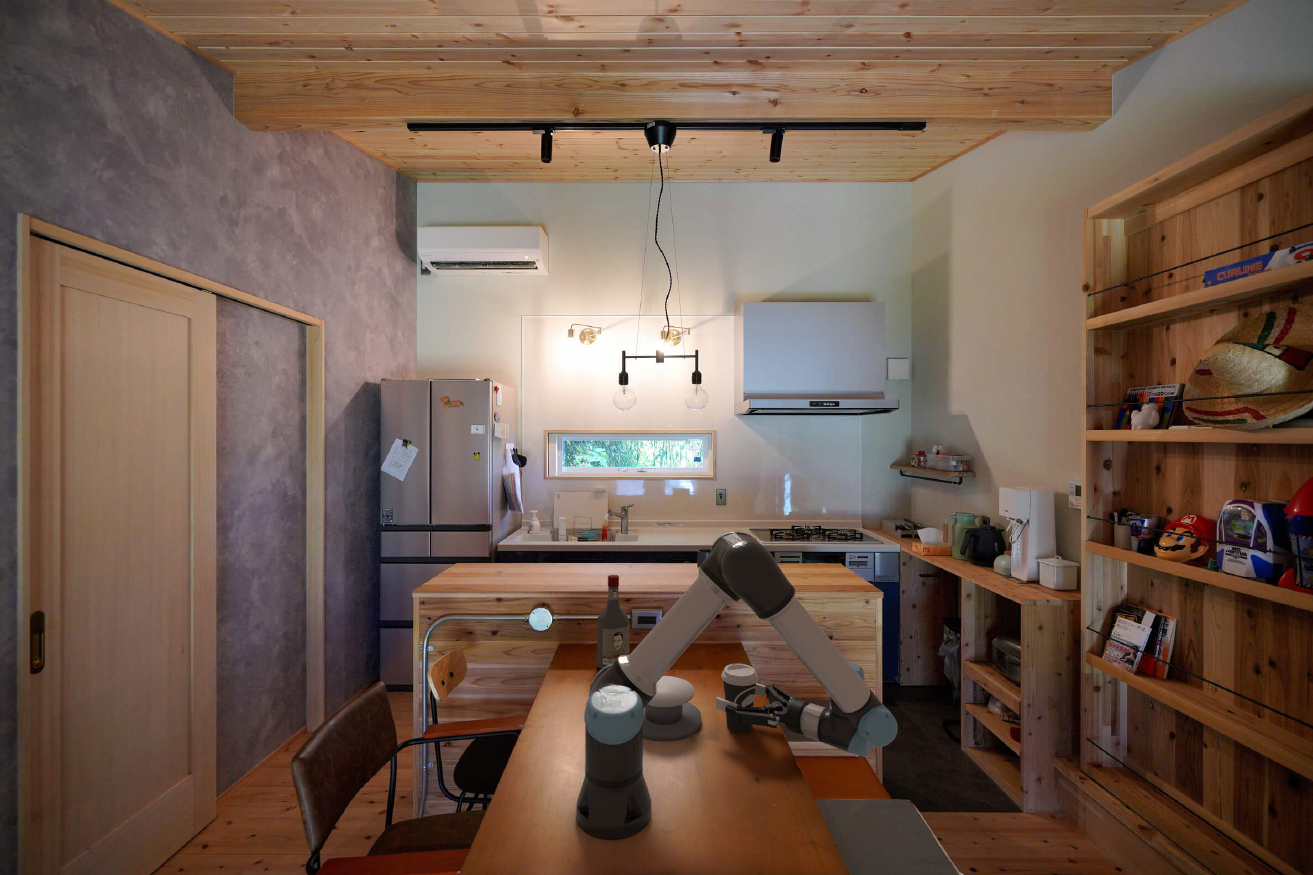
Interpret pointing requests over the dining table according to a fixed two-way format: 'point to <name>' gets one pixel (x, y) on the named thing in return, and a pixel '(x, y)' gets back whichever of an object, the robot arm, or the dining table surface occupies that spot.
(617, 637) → the liquor
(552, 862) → the dining table surface
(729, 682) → the coffee cup
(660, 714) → the cup stand
